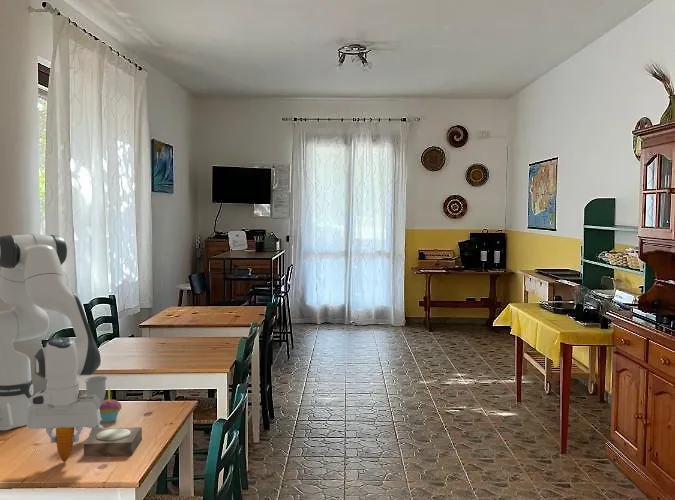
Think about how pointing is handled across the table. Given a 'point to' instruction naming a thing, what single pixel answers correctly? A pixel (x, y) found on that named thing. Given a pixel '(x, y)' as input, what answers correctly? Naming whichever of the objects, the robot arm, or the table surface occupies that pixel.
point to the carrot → (64, 442)
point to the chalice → (96, 392)
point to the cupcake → (109, 409)
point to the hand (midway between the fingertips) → (64, 442)
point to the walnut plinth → (113, 442)
